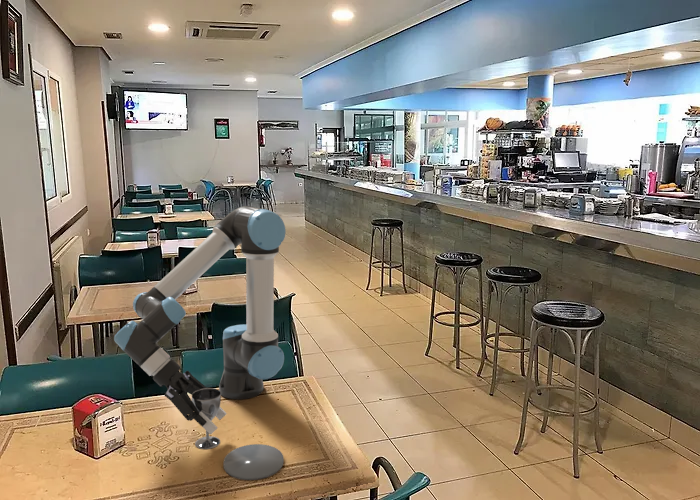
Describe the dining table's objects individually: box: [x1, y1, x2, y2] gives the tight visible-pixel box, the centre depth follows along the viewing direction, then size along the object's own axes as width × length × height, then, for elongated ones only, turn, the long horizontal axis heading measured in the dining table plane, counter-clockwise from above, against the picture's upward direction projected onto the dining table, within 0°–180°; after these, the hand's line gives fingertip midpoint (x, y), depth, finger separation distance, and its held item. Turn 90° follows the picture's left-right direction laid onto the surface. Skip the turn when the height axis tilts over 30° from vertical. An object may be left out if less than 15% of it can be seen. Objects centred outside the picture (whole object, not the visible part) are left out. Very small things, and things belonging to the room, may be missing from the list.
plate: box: [223, 443, 285, 481], centre depth 156 cm, size 16×16×1 cm
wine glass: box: [191, 387, 222, 450], centre depth 165 cm, size 8×8×15 cm
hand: (218, 423), depth 165 cm, fingers closed on wine glass, 8 cm apart
